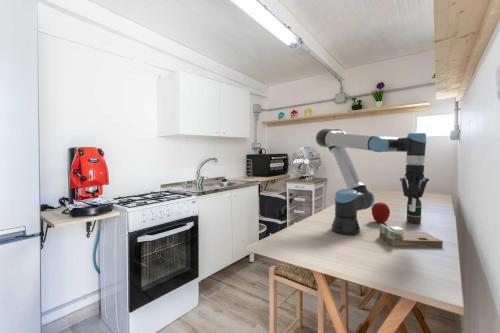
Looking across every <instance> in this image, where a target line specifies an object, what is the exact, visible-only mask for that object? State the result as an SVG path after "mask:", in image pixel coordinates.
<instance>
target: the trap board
mask: <svg viewBox="0 0 500 333" xmlns="http://www.w3.org/2000/svg"><path fill="white" fill-rule="evenodd" d="M379 238H381V239H382V240H383V241H385V242H386V243H388V244H389V245H390V246H391V247H407V248H408V247H410V248H411V247H413V248H443V245H444V244H443V243H444V242H443V240H441V239H440V238H438V237H435V236H434V235H431V233H428V232H426V231H404V237H401V234H395V232H394V231H392V230H391V229H390V227H388V226H386V225H384V223H379Z"/></svg>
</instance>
